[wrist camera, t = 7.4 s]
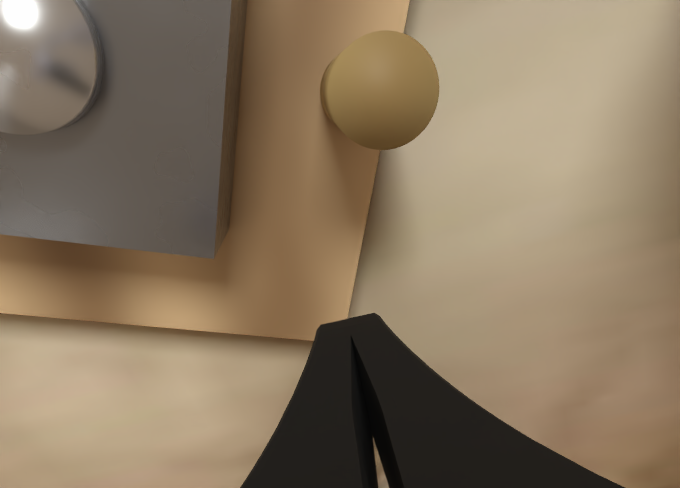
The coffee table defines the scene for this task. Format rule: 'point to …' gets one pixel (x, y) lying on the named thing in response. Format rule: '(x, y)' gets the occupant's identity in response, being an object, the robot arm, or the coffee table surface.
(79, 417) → the coffee table surface
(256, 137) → the wooden base with peg
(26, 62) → the cover
